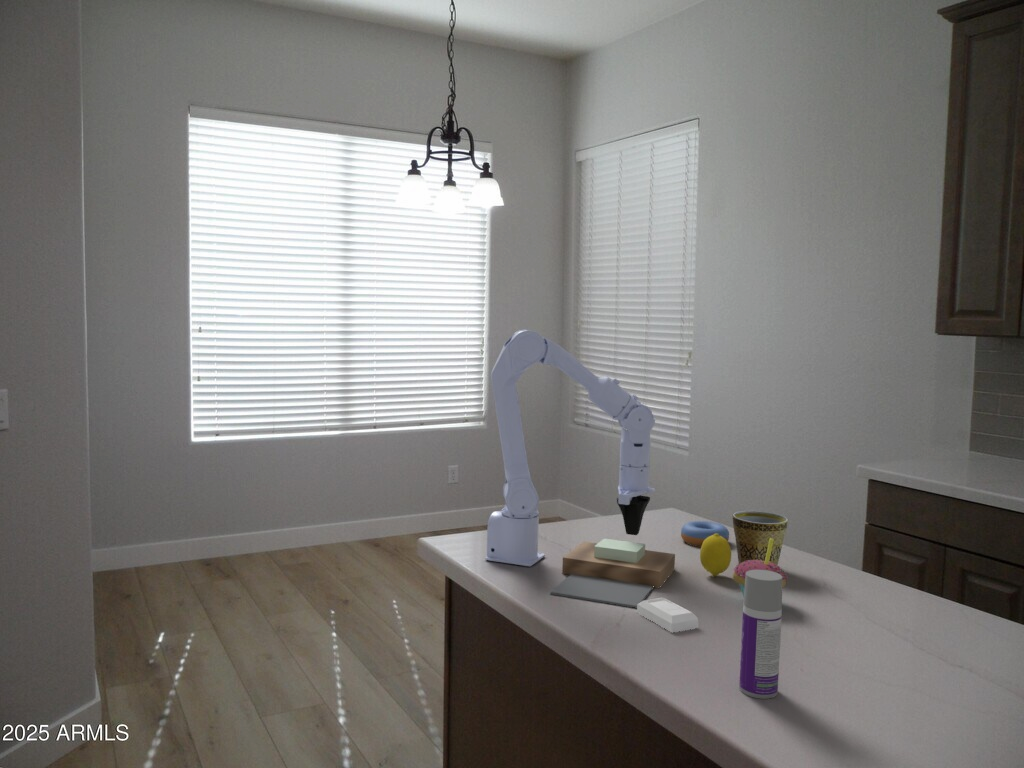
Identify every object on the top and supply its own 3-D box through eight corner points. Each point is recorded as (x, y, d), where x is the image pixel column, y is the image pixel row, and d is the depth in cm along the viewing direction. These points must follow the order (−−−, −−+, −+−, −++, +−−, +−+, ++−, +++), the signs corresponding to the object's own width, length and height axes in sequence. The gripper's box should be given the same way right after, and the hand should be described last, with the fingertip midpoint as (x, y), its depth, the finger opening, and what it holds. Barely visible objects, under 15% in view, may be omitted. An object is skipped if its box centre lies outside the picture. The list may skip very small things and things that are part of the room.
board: (562, 573, 150) (562, 557, 150) (583, 556, 161) (583, 541, 161) (659, 588, 143) (660, 571, 143) (674, 569, 154) (675, 553, 154)
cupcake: (793, 603, 137) (797, 532, 136) (770, 615, 131) (774, 542, 130) (746, 590, 143) (749, 522, 142) (722, 602, 137) (725, 531, 136)
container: (733, 682, 106) (739, 569, 105) (768, 681, 107) (774, 569, 106) (747, 699, 102) (752, 580, 101) (783, 698, 102) (789, 580, 101)
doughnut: (721, 535, 179) (721, 514, 179) (735, 550, 169) (734, 529, 169) (676, 538, 179) (675, 518, 178) (687, 554, 169) (686, 533, 168)
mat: (550, 594, 139) (550, 591, 139) (571, 575, 149) (571, 573, 149) (637, 608, 133) (637, 605, 133) (653, 588, 143) (653, 586, 143)
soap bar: (671, 635, 123) (672, 618, 123) (636, 615, 131) (637, 599, 131) (697, 630, 125) (698, 613, 125) (662, 611, 133) (662, 595, 133)
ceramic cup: (792, 577, 151) (795, 524, 150) (737, 576, 151) (740, 522, 150) (771, 557, 164) (774, 507, 163) (721, 555, 164) (723, 506, 163)
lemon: (727, 572, 153) (729, 530, 152) (732, 581, 148) (734, 538, 147) (697, 570, 154) (699, 528, 153) (701, 580, 148) (703, 536, 148)
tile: (593, 556, 151) (594, 546, 151) (603, 548, 156) (603, 538, 156) (636, 563, 148) (637, 552, 147) (644, 554, 153) (645, 543, 153)
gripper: (645, 472, 150) (643, 545, 151) (663, 460, 163) (661, 527, 165) (608, 469, 153) (606, 541, 154) (629, 457, 166) (627, 523, 167)
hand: (632, 533), depth 159 cm, fingers closed
